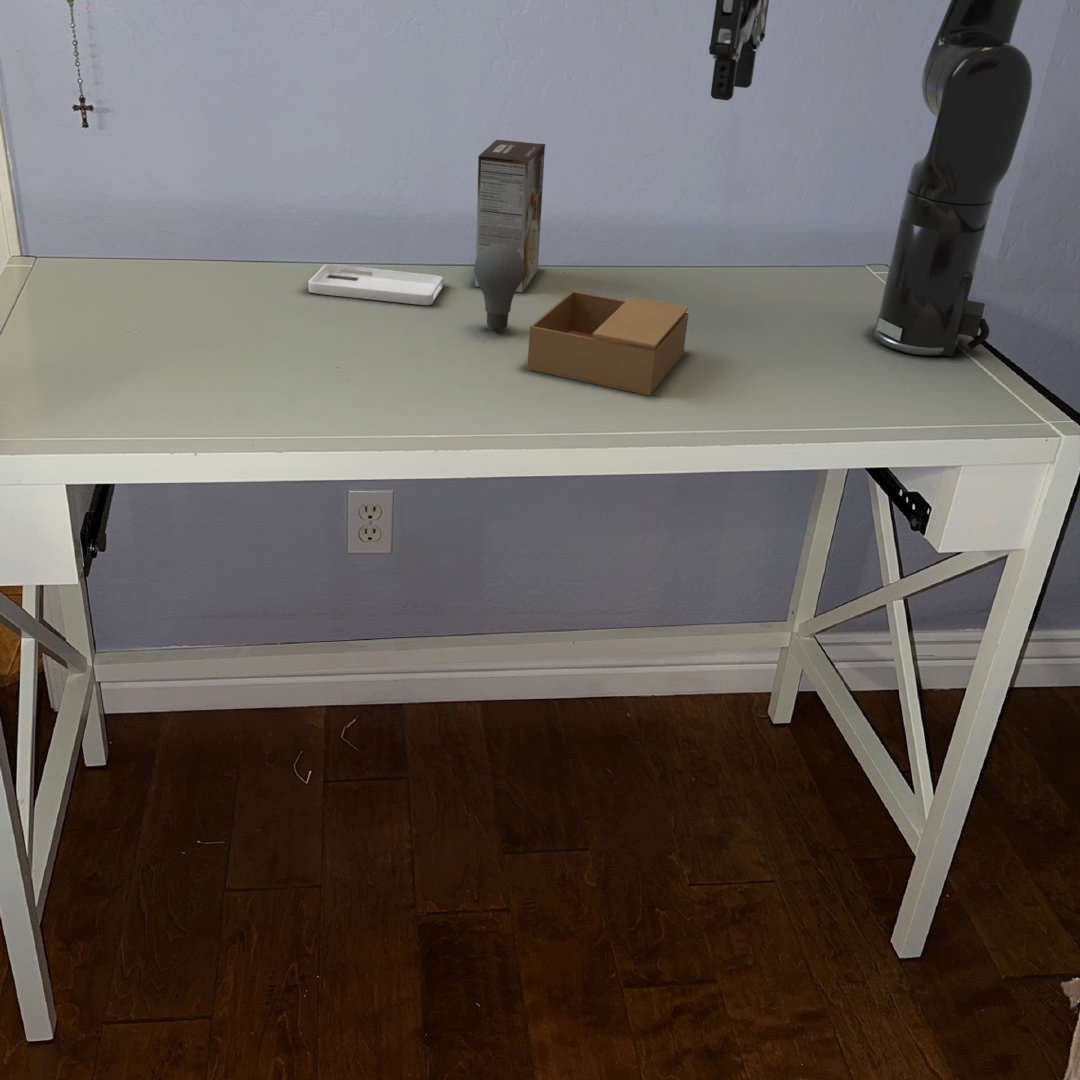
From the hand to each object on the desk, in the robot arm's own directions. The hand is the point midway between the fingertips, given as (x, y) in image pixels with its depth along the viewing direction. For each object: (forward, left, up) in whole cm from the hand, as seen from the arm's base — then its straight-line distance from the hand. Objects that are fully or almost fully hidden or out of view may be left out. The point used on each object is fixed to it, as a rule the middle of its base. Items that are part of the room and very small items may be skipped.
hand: (731, 92), depth 124 cm
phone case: (+38, +9, -26) cm, 47 cm away
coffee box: (+26, -3, -26) cm, 37 cm away
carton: (+6, +16, -26) cm, 31 cm away
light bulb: (+20, +14, -26) cm, 36 cm away
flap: (+3, +16, -21) cm, 26 cm away
